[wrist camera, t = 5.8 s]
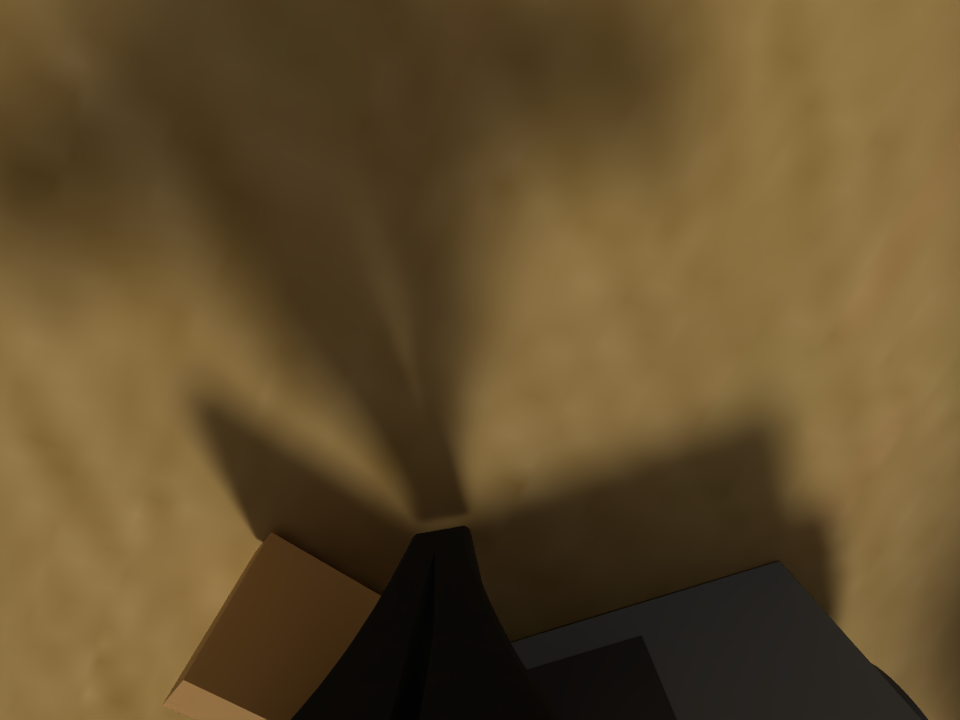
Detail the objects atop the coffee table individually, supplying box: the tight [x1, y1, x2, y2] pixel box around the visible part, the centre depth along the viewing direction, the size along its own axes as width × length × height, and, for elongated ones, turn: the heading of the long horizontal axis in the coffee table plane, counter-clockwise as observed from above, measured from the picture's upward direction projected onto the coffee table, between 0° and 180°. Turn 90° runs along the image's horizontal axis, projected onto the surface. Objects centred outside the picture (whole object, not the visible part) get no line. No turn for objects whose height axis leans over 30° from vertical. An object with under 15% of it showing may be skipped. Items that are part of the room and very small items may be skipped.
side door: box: [163, 532, 381, 720], centre depth 11 cm, size 7×1×4 cm, turn 51°
